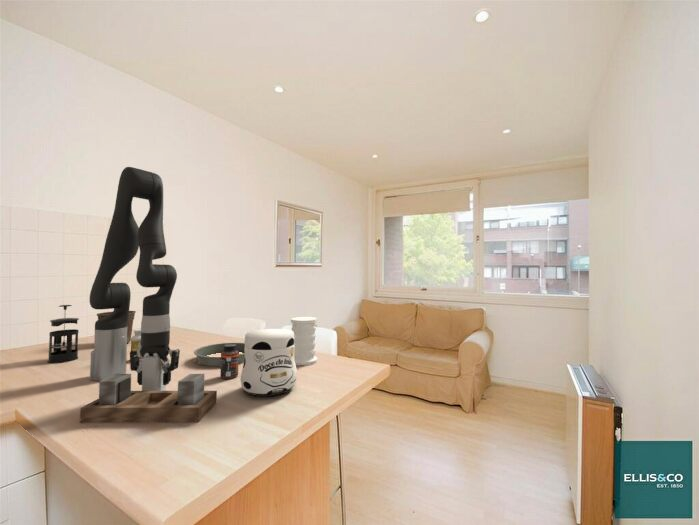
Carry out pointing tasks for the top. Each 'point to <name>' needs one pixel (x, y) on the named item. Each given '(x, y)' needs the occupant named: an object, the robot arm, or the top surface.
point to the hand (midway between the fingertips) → (154, 384)
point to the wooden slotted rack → (149, 402)
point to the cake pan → (214, 349)
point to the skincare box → (152, 374)
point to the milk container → (269, 362)
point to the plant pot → (129, 325)
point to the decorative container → (304, 340)
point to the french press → (69, 353)
